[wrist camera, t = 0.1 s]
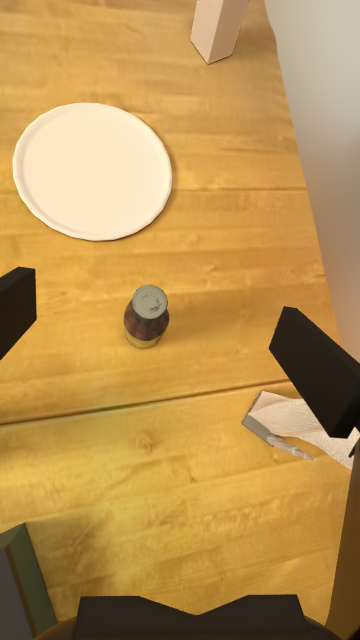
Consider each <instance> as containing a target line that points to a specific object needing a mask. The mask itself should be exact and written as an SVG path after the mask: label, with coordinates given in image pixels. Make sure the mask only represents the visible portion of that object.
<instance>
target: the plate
mask: <svg viewBox="0 0 360 640" xmlns="http://www.w3.org/2000/svg"><path fill="white" fill-rule="evenodd" d="M13 176H14V181H15V184H16V186H17V189H18V192H19V194H20V197H21V199H22V200H23V201H24V203H25V204H26V205H27V206H28V208H29V209H30V210H31V212H32V213H33V214H34V215H35V216H36V217H37V218H39V219H40V220H41V221H43V222H44V223H45V224H46V225H48V226H49V227H50V228H52V229H54V230H57V231H59V232H61V233H63V234H66V235H68V236H70V237H74V238H80V239H85V240H91V241H100V240H115V239H118V238H122V237H125V236H128V235H131V234H134V233H136V232H137V231H139V230H141V229H142V228H144V227H145V226H147V225H149V224H150V223H151V222H152V221H153V220H154V219H155V218H156V217H157V215H158V214H159V213H160V212H161V211H162V210H163V208H164V206H165V204H166V201H167V199H168V197H169V195H170V191H171V184H172V177H173V176H172V169H171V163H170V158H169V156H168V154H167V152H166V149H165V147H164V145H163V143H162V141H161V140H160V139H159V138H158V136H157V135H156V134H155V133H154V131H153V130H152V129H151V128H150V127H149V126H147V125H146V124H145V123H144V122H142V121H141V120H140V119H139V118H137V117H136V116H134V115H132V114H130V113H128V112H126V111H124V110H122V109H120V108H117V107H113V106H109V105H105V104H100V103H74V104H69V105H64V106H59V107H57V108H55V109H53V110H51V111H48V112H46V113H44V114H42V115H41V116H40V117H38V118H37V119H36V120H35V121H34V122H32V123H31V124H30V125H29V126H28V127H27V128H26V130H25V131H24V133H23V134H22V136H21V137H20V139H19V140H18V142H17V145H16V149H15V153H14V157H13Z"/></svg>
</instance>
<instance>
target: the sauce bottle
mask: <svg viewBox="0 0 360 640" xmlns="http://www.w3.org/2000/svg"><path fill="white" fill-rule="evenodd" d="M167 305H168V300H167V297H166V295H165V293H164V291H163V290H161V289H160V288H159V287H157V286H153V285H145V286H142V287H140V288H139V289H137V290H136V292H135V293H134V295H133V298H132V300H131V301H130V303H129V304H128V306H127V308H126V310H125V315H124V325H125V333H126V337H127V339H128V341H129V342H130V343H131V344H132V345H133V346H135V347H137V348H140V349H147V348H150V347H152V346H154V345H156V344H157V342H158V341H159V340H160V338H161V336H162V335H163V333H164V332H165V330H166V328H167V326H168V323H169V313H168V310H167Z"/></svg>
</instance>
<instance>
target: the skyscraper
mask: <svg viewBox="0 0 360 640" xmlns="http://www.w3.org/2000/svg"><path fill="white" fill-rule="evenodd" d="M242 424H243V425H244V426H246V427H247V428H248V429H250V430H251V431H252V432H254V433H255V434H256V435H258V436H259V437H260V438H261V439H263V440H264V441H265V442H267V443H268V444H269V445H271V446H272V447H274V446H275V447H277V448H279V449H280V450H284V451H286V452H289V453H291V454H293V455H294V456H296V457H297V456H301V457H304V458H305V459H311V460H313V461H315V459H314V458H312V457H310V456H309V455H308V454H307V453H304V452H302V451H300V450H301V449H300V448H299V447H297V446H295V445H292V444H290V443H288V442H286V441H284V440H283V439H282V438H279V436H287V437H297V438H300V439H302V440H305V441H307V442H310V443H312V444H314V445H316V446H317V447H319V448H321V449H323V450H324V451H325V452H326V453H327V454H329V455H330V456H331V457H332V458H334V459H335V460H336V461H338V462H339V463H341V464H342V465H344V466H346V467H347V468H349V469H351V470H352V466H353V460H354V455H353V456H352V457H351V458H349V457H348V455H349V454H350V452H351V450H352V449H353V447H354V445H355V444H356V442H357V440H358V439H359V437H360V433H359V431H358V430H357V429H356V428H355V427H354V429H353V430H352V432H351V434H350V436H349V437H348V439H340V438H330V437H329V436H328V434H327V433H326V431H325V430H324V429H323V427H322V426H321V424H320V423H319V421H318V420H317V418H316V417H315V415H314V414H313V413H312V411H311V410H310V408H309V407H308V405H307V404H306V402H305V401H304V399H303V398H302V399H291V398H288V397H284V396H281V395H277V394H273V393H270V392H266V391H262V390H261V392H260V393H259V395H258V397H257V398H256V400H255V401H254V403H253V405H252V406H251V408H250V410H249V411H248V413H247V415H246V416H245V418H244V419H243V421H242Z"/></svg>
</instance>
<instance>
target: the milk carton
mask: <svg viewBox="0 0 360 640" xmlns="http://www.w3.org/2000/svg"><path fill="white" fill-rule="evenodd" d="M248 2H249V0H197V5H196V10H195V16H194V22H193V27H192V33H191V38H190V40H191V42H192V43H193V44H194V46H195V47H196V49H197V50H198V51H199V53H200V54H201V56H202V57H203V58H204V60H205V61H206V62H207V64H210V63H212V62H215V61H218V60H220V59H223V58H225V57H228V56H230V55H232V52H233V49H234V46H235V43H236V40H237V37H238V34H239V30H240V27H241V24H242V21H243V18H244V15H245V12H246V8H247V5H248Z"/></svg>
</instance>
